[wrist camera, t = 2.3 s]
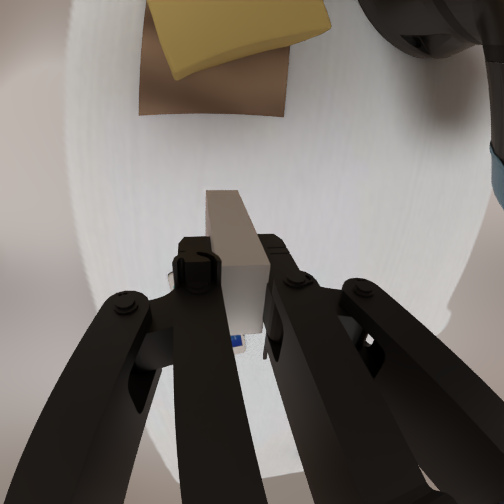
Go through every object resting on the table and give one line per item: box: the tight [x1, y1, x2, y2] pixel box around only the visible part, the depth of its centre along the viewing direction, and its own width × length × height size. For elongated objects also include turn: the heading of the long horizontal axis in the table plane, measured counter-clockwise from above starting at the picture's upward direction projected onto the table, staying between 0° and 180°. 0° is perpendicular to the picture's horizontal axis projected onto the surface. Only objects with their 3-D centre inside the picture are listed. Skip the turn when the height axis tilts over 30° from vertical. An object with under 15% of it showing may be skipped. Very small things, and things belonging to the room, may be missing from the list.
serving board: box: [139, 1, 290, 117], centre depth 20 cm, size 16×13×1 cm
